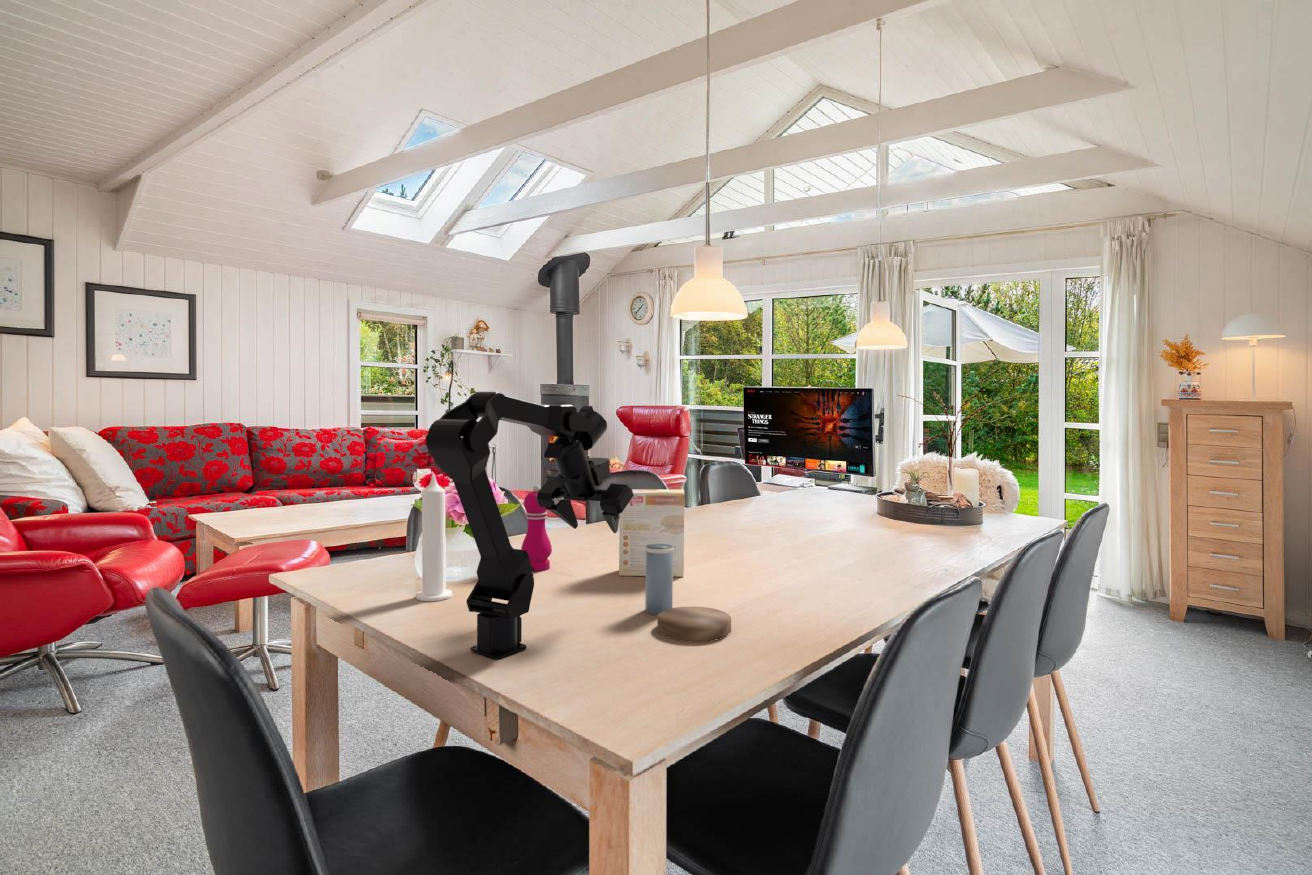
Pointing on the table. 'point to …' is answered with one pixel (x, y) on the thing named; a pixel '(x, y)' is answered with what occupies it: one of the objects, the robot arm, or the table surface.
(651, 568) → the jar
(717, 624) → the trivet
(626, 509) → the coffeecake box
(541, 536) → the pepper mill
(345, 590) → the table surface
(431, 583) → the candle
